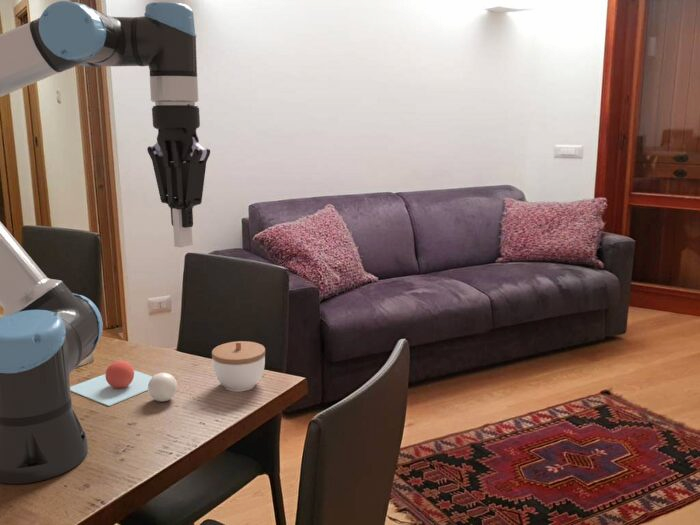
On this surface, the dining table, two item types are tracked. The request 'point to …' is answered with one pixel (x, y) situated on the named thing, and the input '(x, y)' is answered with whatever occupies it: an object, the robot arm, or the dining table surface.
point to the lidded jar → (239, 364)
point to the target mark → (111, 389)
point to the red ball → (119, 374)
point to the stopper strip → (87, 360)
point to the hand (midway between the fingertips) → (183, 245)
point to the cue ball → (162, 386)
